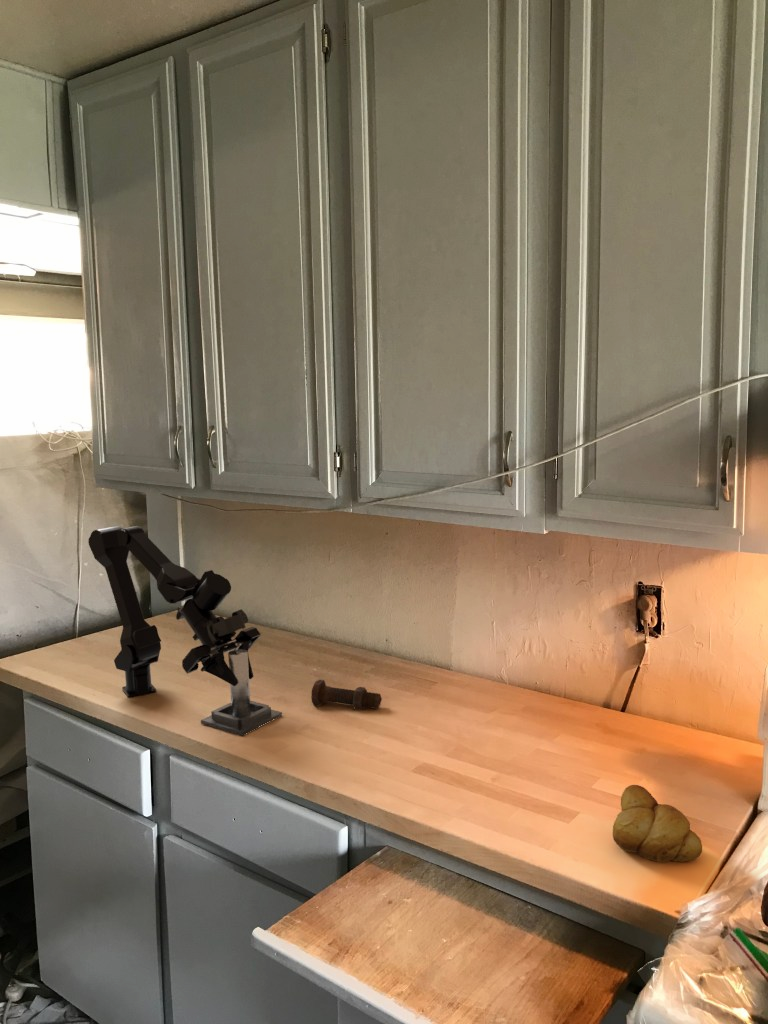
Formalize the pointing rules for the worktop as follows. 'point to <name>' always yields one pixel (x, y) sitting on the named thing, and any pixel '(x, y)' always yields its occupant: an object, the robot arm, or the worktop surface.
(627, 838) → the bread roll
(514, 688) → the worktop surface
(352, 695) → the bolt
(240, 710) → the shiny tapered metal piece
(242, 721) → the block
